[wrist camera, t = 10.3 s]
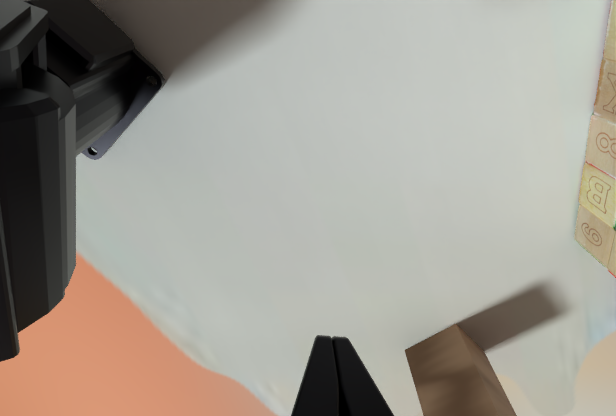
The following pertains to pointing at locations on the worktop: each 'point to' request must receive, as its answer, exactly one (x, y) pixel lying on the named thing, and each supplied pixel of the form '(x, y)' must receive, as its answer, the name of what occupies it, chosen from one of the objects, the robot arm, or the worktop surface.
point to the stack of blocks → (601, 164)
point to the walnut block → (456, 377)
